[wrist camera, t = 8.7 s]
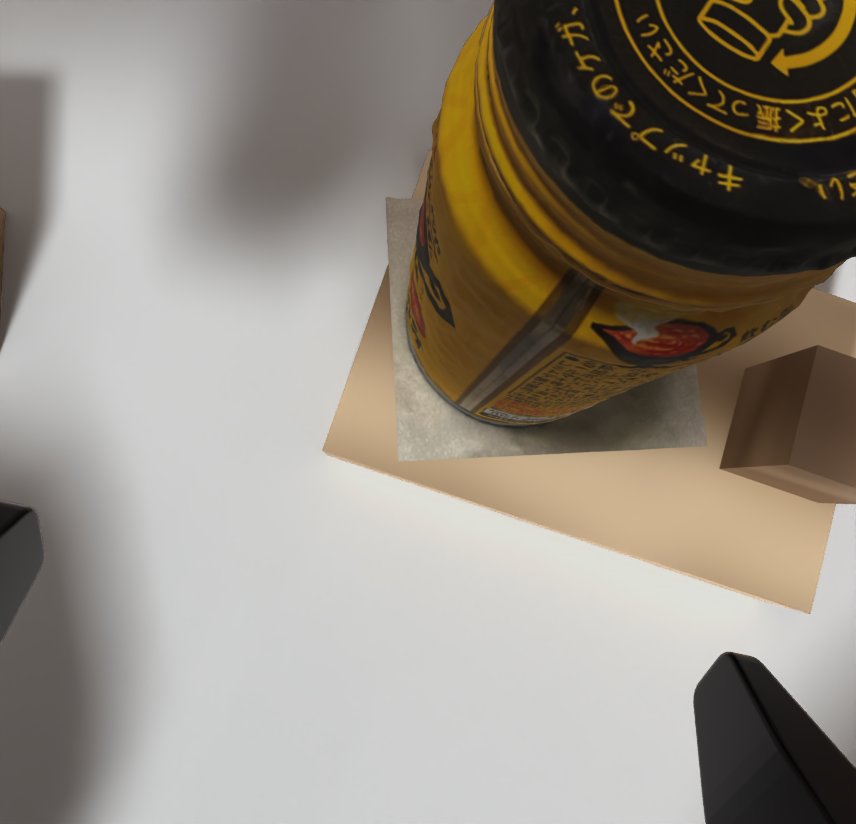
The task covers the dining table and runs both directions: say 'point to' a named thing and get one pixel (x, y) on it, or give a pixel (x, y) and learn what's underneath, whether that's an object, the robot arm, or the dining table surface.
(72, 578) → the dining table surface
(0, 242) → the block
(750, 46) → the condiment
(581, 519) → the foundation
